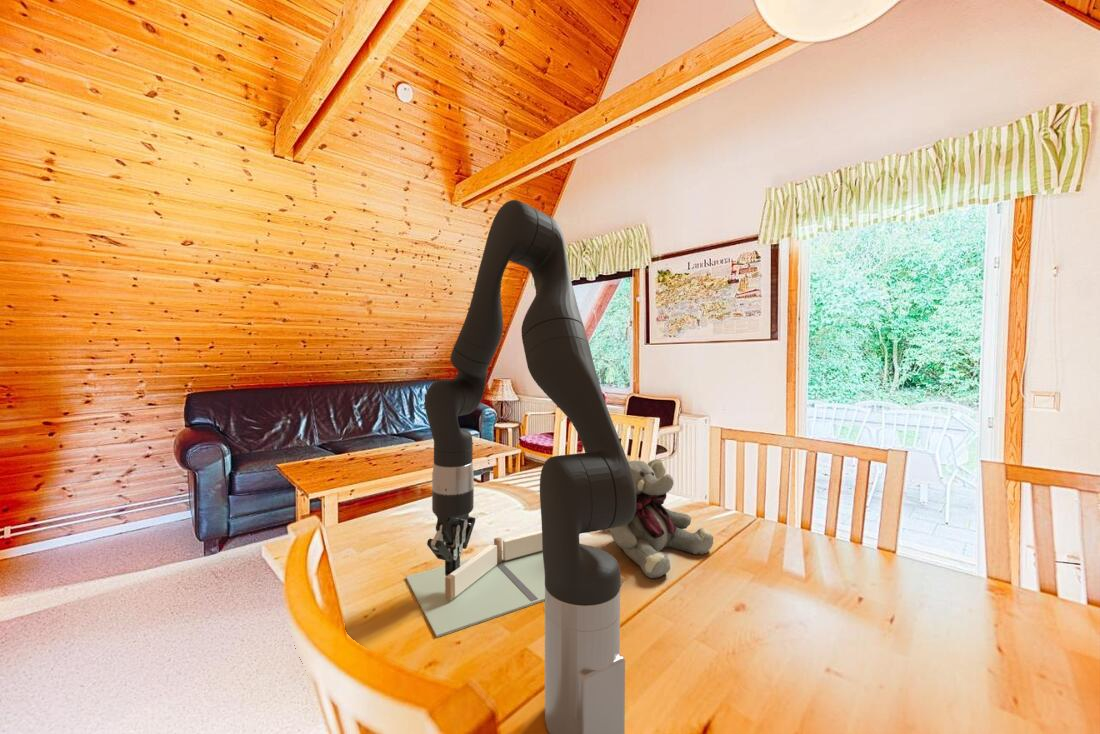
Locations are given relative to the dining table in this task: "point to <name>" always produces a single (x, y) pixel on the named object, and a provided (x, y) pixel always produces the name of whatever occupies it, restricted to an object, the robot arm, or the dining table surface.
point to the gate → (470, 572)
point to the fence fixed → (518, 546)
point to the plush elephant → (656, 523)
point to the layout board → (480, 593)
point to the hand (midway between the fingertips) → (452, 576)
